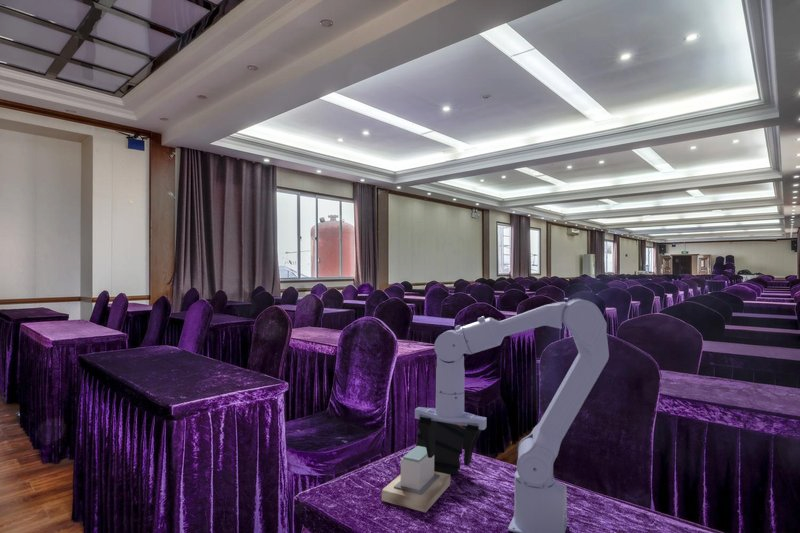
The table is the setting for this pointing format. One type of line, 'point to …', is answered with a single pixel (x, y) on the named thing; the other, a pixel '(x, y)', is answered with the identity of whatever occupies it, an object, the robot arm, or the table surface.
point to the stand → (416, 492)
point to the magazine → (446, 447)
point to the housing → (416, 468)
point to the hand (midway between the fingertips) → (449, 459)
